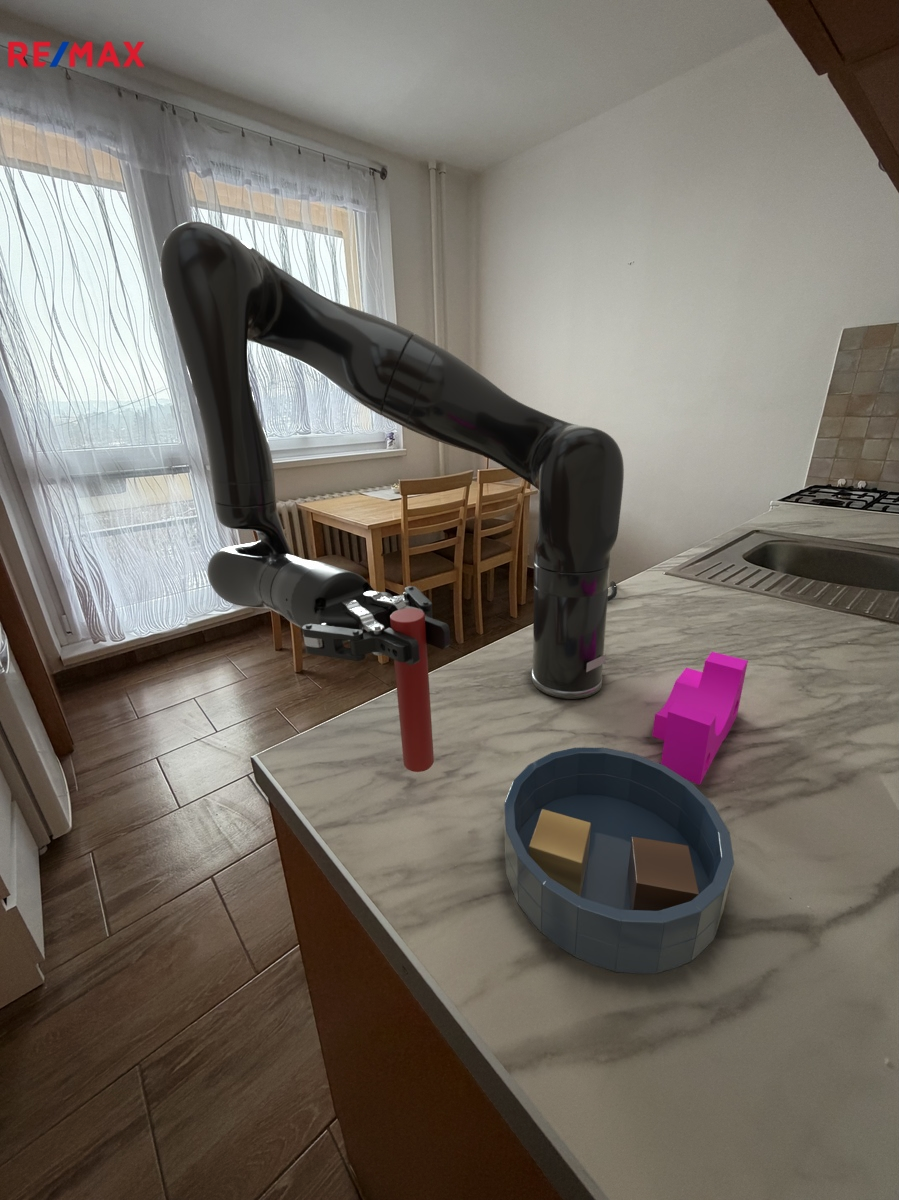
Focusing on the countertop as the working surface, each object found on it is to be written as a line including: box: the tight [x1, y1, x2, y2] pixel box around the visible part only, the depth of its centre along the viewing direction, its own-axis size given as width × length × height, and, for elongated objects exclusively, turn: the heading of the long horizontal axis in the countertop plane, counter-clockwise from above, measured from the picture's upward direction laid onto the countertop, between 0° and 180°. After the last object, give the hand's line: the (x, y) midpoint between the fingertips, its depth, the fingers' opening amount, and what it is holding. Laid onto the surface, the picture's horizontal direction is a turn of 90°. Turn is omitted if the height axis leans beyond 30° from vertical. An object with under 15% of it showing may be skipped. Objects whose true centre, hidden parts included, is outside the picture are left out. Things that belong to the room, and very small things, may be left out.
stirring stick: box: [390, 608, 435, 773], centre depth 45 cm, size 3×3×16 cm
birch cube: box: [529, 809, 591, 896], centre depth 38 cm, size 4×4×4 cm
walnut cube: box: [628, 837, 699, 911], centre depth 36 cm, size 4×4×4 cm
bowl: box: [503, 747, 735, 975], centre depth 39 cm, size 17×17×6 cm
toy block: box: [652, 651, 749, 785], centre depth 53 cm, size 15×6×8 cm, turn 139°
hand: (431, 645), depth 41 cm, fingers closed on stirring stick, 3 cm apart
